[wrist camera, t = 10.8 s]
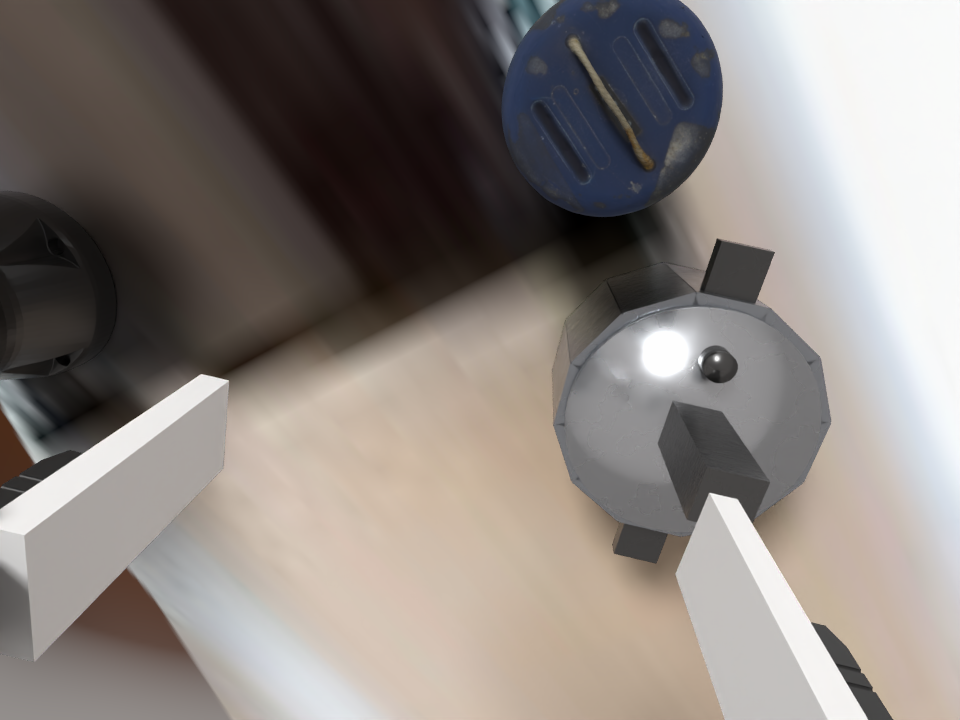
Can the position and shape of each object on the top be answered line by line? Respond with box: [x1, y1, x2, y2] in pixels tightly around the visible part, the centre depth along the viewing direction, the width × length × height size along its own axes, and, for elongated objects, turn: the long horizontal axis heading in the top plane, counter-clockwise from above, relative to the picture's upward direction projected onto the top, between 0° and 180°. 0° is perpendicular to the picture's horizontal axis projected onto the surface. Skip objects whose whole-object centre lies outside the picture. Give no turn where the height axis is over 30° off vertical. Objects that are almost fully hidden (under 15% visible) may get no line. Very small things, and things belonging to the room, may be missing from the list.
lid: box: [564, 305, 822, 532], centre depth 33 cm, size 15×15×11 cm
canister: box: [502, 0, 723, 217], centre depth 32 cm, size 10×10×18 cm
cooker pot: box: [552, 239, 831, 563], centre depth 40 cm, size 16×22×10 cm
